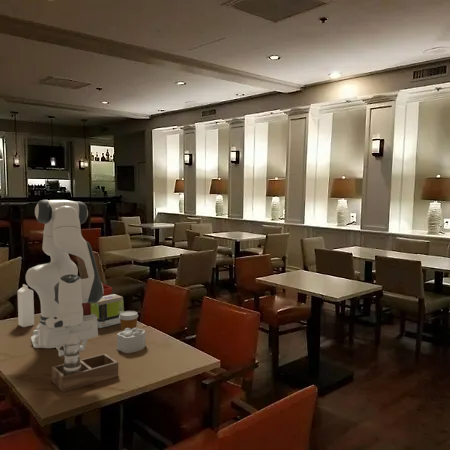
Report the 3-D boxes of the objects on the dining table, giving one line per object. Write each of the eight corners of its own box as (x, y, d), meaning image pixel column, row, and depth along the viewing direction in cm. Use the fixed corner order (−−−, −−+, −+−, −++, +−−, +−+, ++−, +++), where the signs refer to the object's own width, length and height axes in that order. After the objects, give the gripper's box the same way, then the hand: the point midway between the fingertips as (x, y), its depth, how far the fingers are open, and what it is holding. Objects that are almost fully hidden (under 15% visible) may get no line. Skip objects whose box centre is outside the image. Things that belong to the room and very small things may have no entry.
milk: (23, 327, 232) (21, 286, 230) (18, 324, 236) (16, 284, 234) (34, 324, 236) (33, 284, 234) (29, 322, 240) (28, 282, 238)
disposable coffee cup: (132, 341, 213) (132, 317, 212) (115, 338, 217) (115, 315, 215) (142, 334, 222) (141, 311, 221) (125, 332, 226) (125, 309, 224)
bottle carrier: (51, 381, 169) (51, 367, 169) (105, 366, 184) (104, 353, 183) (63, 392, 160) (62, 377, 160) (118, 375, 175) (118, 362, 174)
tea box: (115, 318, 249) (115, 293, 247) (124, 323, 241) (124, 296, 240) (90, 324, 238) (90, 297, 237) (99, 328, 231) (98, 301, 230)
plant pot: (99, 308, 268) (98, 281, 266) (113, 316, 253) (112, 287, 252) (68, 314, 255) (67, 286, 254) (81, 322, 241) (80, 292, 239)
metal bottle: (66, 373, 172) (64, 324, 170) (83, 373, 172) (82, 324, 170) (61, 381, 165) (59, 329, 163) (79, 380, 166) (77, 329, 164)
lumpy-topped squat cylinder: (114, 348, 204) (114, 330, 203) (137, 341, 213) (137, 324, 213) (127, 354, 197) (127, 335, 196) (150, 346, 206) (150, 328, 206)
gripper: (93, 311, 175) (94, 344, 177) (41, 321, 162) (41, 357, 164) (100, 314, 171) (100, 349, 172) (46, 325, 157) (47, 362, 159)
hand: (71, 353), depth 168 cm, fingers open, 7 cm apart
